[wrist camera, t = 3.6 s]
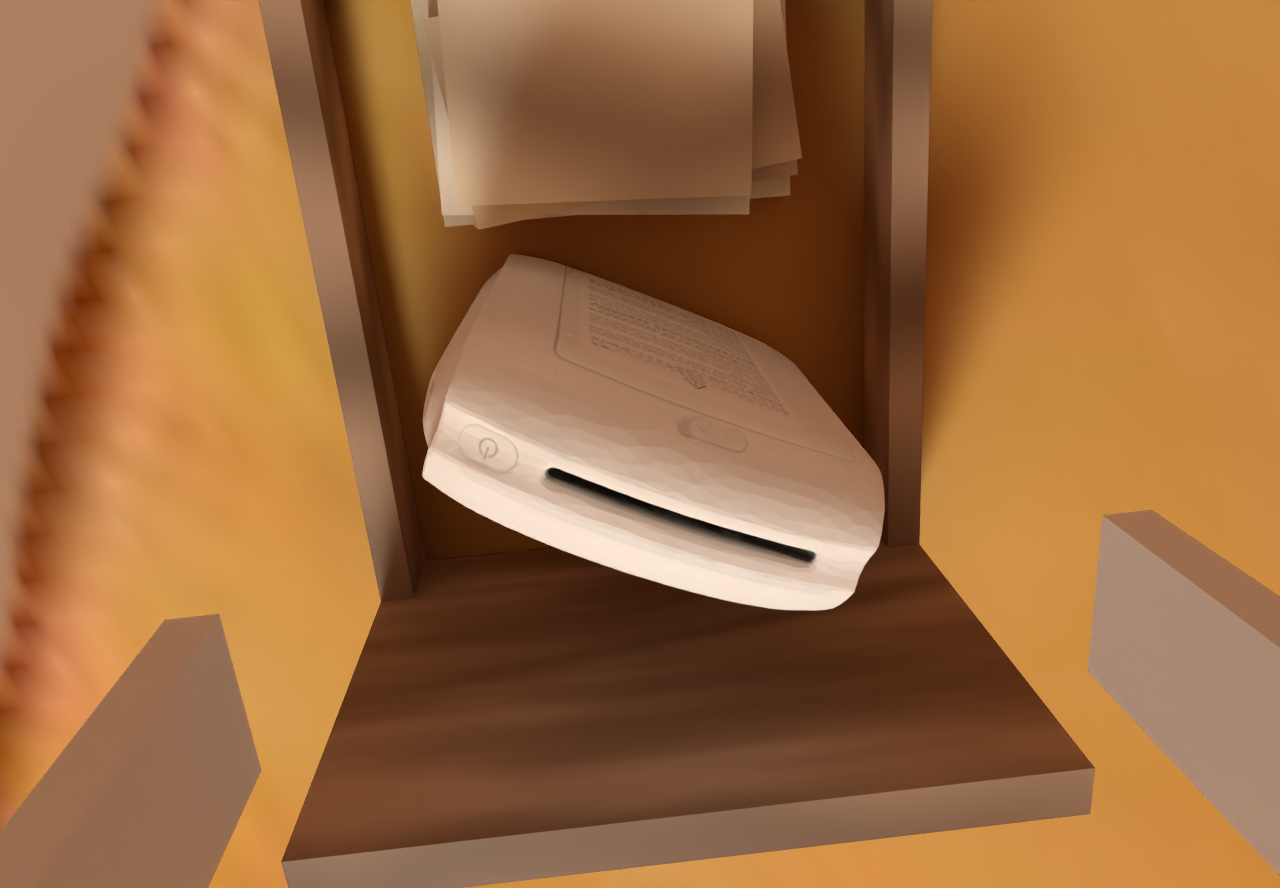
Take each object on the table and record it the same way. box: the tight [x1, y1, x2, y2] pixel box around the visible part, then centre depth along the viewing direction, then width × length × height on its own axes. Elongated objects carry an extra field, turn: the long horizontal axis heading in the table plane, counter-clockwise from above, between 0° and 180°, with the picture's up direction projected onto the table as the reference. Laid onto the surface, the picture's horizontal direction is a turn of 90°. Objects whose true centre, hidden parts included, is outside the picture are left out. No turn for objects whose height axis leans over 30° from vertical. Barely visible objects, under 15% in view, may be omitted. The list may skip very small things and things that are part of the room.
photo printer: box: [422, 254, 885, 611], centre depth 23 cm, size 10×4×12 cm, turn 68°
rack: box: [258, 0, 1095, 888], centre depth 22 cm, size 19×17×13 cm
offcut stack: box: [410, 0, 802, 230], centre depth 25 cm, size 7×10×4 cm, turn 95°
